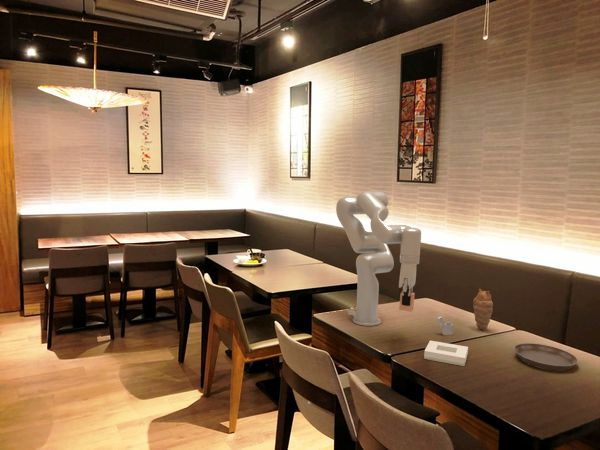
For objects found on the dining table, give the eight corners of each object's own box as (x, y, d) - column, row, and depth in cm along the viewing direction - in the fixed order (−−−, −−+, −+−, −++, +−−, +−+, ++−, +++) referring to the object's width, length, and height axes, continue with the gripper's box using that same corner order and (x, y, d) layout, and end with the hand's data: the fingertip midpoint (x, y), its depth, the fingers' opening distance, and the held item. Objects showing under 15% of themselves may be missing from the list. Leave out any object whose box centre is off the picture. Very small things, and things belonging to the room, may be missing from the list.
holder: (424, 358, 170) (424, 350, 170) (429, 347, 181) (430, 340, 181) (464, 366, 165) (465, 358, 164) (467, 354, 175) (468, 346, 175)
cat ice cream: (467, 328, 206) (470, 288, 204) (480, 325, 210) (483, 286, 208) (483, 334, 198) (486, 293, 196) (496, 332, 202) (499, 291, 200)
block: (399, 309, 187) (400, 292, 186) (400, 307, 189) (402, 291, 188) (411, 311, 185) (413, 294, 184) (413, 309, 187) (414, 292, 186)
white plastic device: (450, 333, 199) (451, 315, 198) (452, 334, 197) (454, 316, 196) (435, 334, 197) (436, 315, 196) (437, 335, 195) (439, 317, 195)
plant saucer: (576, 359, 175) (577, 350, 174) (577, 379, 157) (578, 369, 157) (516, 347, 185) (517, 339, 185) (510, 365, 167) (511, 356, 167)
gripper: (404, 254, 193) (401, 298, 196) (395, 261, 179) (392, 308, 181) (423, 256, 190) (420, 300, 192) (415, 263, 175) (412, 311, 178)
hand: (406, 303), depth 187 cm, fingers closed on block, 2 cm apart
